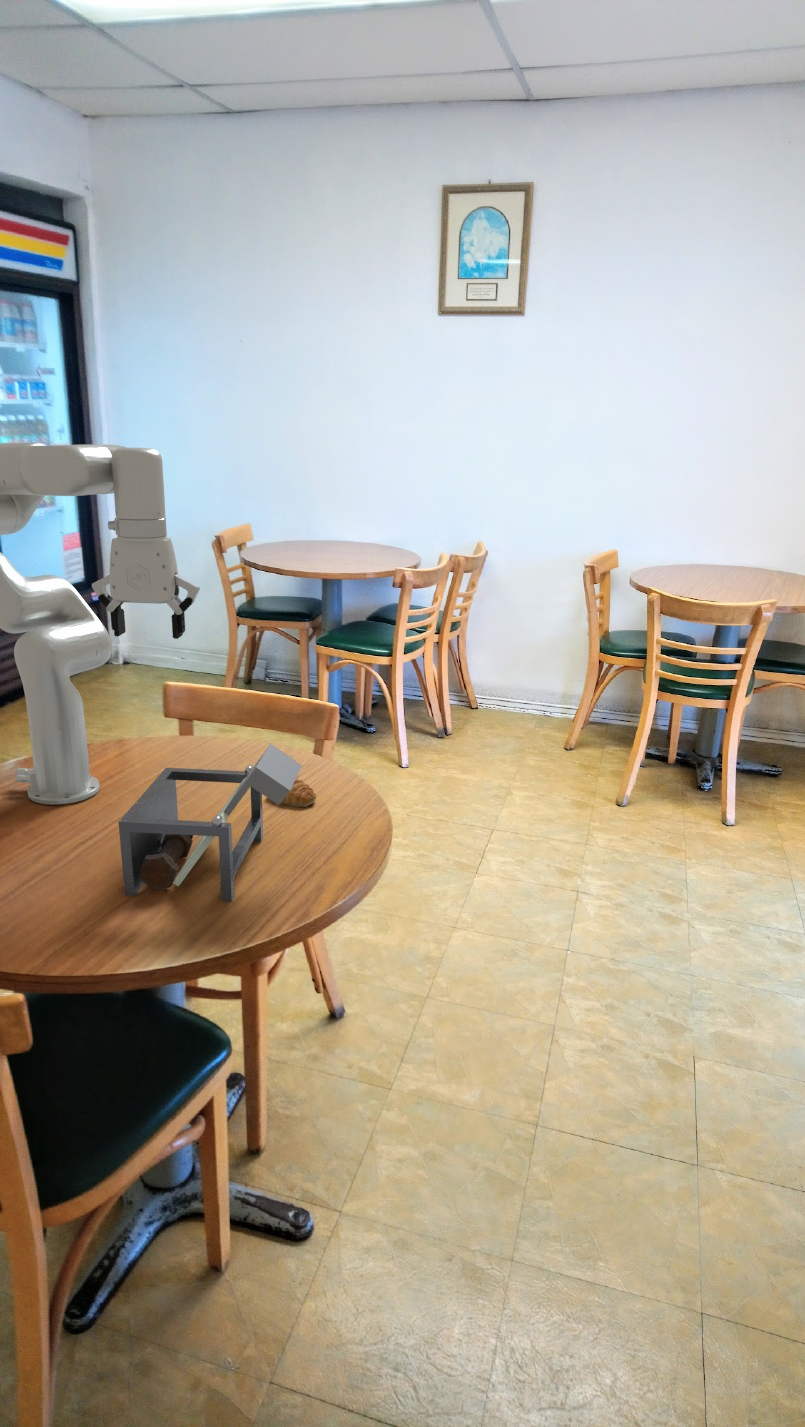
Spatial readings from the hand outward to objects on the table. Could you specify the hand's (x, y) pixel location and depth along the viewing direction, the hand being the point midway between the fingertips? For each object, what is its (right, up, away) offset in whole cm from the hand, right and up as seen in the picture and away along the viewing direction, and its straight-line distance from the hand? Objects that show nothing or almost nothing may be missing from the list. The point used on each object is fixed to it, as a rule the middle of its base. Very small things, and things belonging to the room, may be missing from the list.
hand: (149, 635), depth 142 cm
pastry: (+21, -29, +21) cm, 42 cm away
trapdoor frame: (+9, -37, -4) cm, 38 cm away
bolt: (+7, -33, -7) cm, 34 cm away
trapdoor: (+19, -31, -7) cm, 37 cm away
